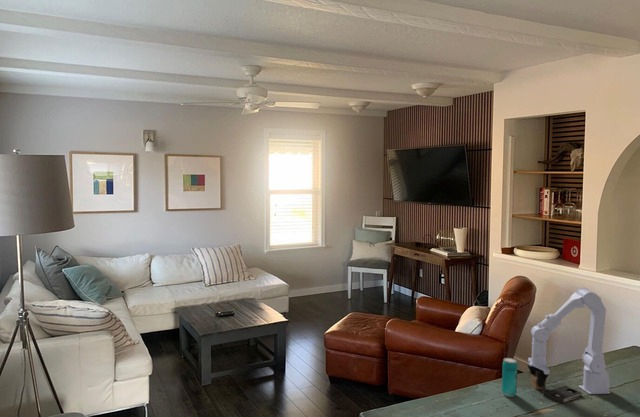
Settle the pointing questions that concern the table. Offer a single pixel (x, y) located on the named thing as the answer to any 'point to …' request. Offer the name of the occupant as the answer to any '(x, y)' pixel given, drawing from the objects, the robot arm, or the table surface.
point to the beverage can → (509, 377)
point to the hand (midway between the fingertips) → (537, 384)
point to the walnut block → (535, 382)
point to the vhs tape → (562, 394)
